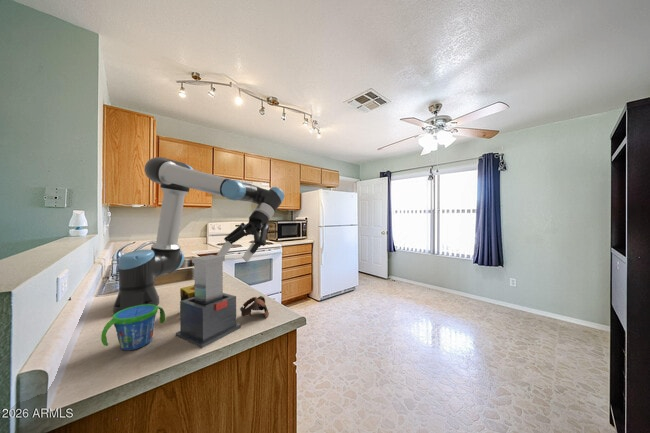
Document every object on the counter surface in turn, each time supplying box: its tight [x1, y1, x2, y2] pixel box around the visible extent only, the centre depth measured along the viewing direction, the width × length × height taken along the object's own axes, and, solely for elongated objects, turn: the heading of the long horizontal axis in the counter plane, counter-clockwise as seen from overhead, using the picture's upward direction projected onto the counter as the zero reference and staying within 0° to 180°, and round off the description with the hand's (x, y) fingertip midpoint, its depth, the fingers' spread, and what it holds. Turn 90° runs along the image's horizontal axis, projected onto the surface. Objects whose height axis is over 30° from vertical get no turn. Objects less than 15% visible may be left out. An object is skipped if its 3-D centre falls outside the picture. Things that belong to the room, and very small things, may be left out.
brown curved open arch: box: [239, 295, 270, 319], centre depth 90 cm, size 12×10×8 cm
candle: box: [179, 284, 195, 301], centre depth 93 cm, size 10×10×10 cm
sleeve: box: [175, 292, 242, 349], centre depth 77 cm, size 14×14×11 cm
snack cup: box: [100, 304, 166, 351], centre depth 70 cm, size 16×10×10 cm
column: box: [191, 254, 226, 306], centre depth 77 cm, size 7×7×24 cm
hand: (231, 258), depth 84 cm, fingers open, 13 cm apart
